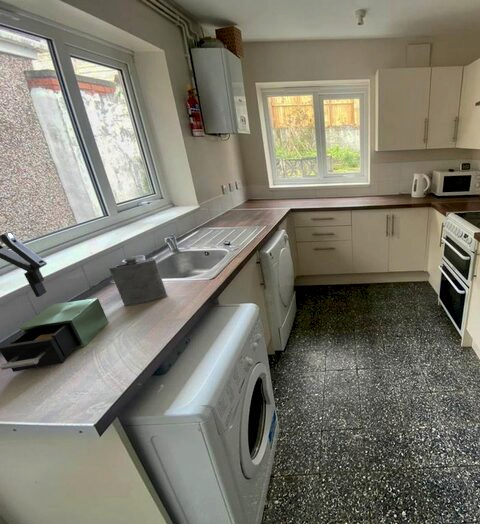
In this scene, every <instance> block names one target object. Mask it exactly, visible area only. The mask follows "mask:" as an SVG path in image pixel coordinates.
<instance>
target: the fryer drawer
mask: <svg viewBox="0 0 480 524" xmlns="http://www.w3.org/2000/svg"><path fill="white" fill-rule="evenodd" d="M52 333H54V334H53V335H52V336H51V337H52V338H47V339H41V340H35V339H36V338H38V337H39V336H40V335H46V334H52ZM9 343H10V344H5V345H1V346H0V354H1V355H2V357H3V359H4V360H5V361H6V362H4V363H2V364H1V365H0V369H1V370H2V371H4V370H10V369H11V370H12V373H16V372H22V371H27V370H32V369H33V370H34V369H38V368H45V367H49V366H55V365H60V364H65V362H66V357H67V356H68V355H70V353H71V352H72V351H73V350H75V349H76V348H75V347H76V346H77V345H78V344H79V343H80V342H79V341H78V339H77V337H76V335H75V333H74V331H73V329H72V327H71V325H70V323H65V324H58V325H51V326H45V327H38V328H32V329H28V330H27V331H25V332H24V333H21V334H20V335H18V336H17V337H15V338H14V339H13V340H12V341H10V342H9ZM74 348H75V349H74Z"/></svg>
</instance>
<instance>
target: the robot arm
mask: <svg viewBox="0 0 480 524" xmlns="http://www.w3.org/2000/svg"><path fill="white" fill-rule="evenodd" d="M0 243H1V244H0V260H3V261H5V262H7V263H9V264H11V265H14V266H15V267H17V268H19V269H22V270H24V271H25V273H23V275H24V277H25V279H26V280H27V282H28V284H29V286H30V288H31V290H32V291H33V294H34V295H35V297H36V298H39V297H42V296H43V295H44V294H46V293H47V289H46V287H45V286H44V284H43V282H44V280H45V278H44V276H43V274H42V272H41V270H40V269H41V268H43V267H44V266H46V265H48V263H47V261H46V260H45V259H43V258H42V257H41V256H39V255H38V254H37V253H36V252H34V251H33V250H32V249H30V248H29V247H28V246H27V245H25V244H24V243H23V242H22V241H21V240H19V239H18V237H17V236H16V235H15V233H14V232H12V231H9V232H5V233H3V234H0ZM2 244H4V245H5V246H4V245H2ZM9 249H10V250H9Z"/></svg>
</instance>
